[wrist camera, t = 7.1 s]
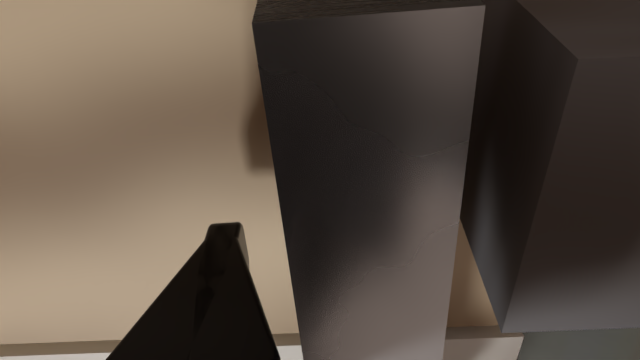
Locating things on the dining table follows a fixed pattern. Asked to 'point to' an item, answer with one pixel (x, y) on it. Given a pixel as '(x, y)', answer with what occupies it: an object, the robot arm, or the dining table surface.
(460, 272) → the stepped wooden block
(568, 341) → the dining table surface
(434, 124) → the bar
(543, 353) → the dining table surface
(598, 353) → the dining table surface
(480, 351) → the jamb
